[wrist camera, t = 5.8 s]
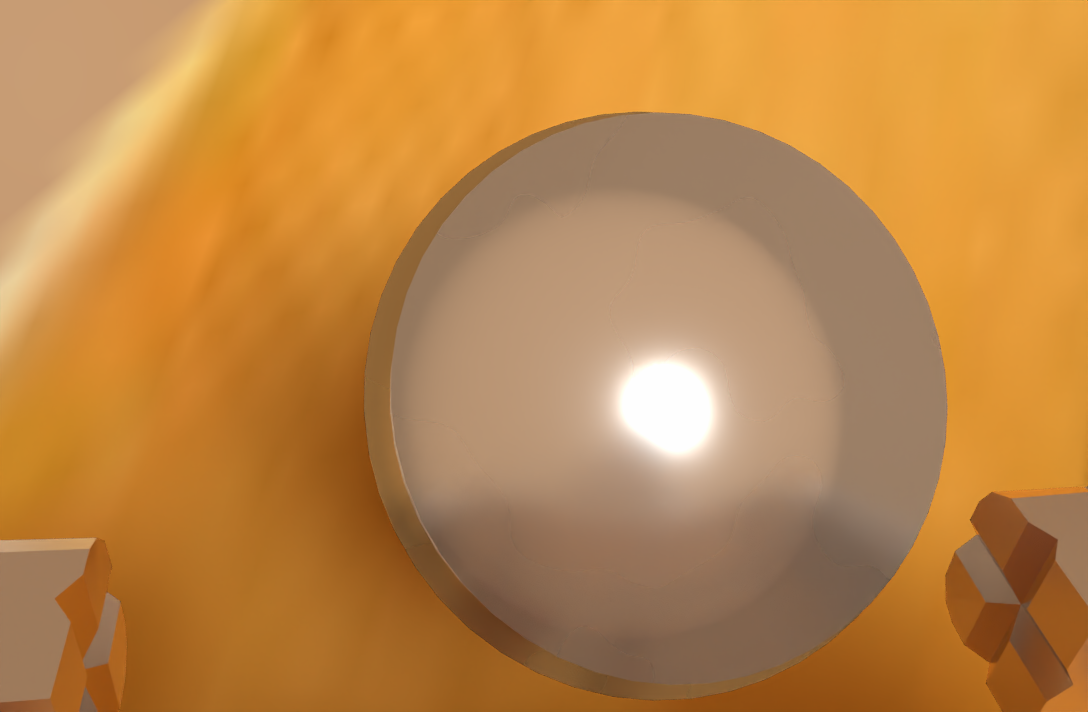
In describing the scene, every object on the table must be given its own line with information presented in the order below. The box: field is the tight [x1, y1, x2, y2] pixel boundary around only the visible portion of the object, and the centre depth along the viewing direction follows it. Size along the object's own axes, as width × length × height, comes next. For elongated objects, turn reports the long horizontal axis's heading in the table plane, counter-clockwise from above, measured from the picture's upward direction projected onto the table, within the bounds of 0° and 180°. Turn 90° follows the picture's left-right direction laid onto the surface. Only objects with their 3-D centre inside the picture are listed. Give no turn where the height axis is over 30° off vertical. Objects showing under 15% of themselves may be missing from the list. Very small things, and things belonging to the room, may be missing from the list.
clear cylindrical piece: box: [364, 112, 947, 700], centre depth 12 cm, size 5×5×8 cm
